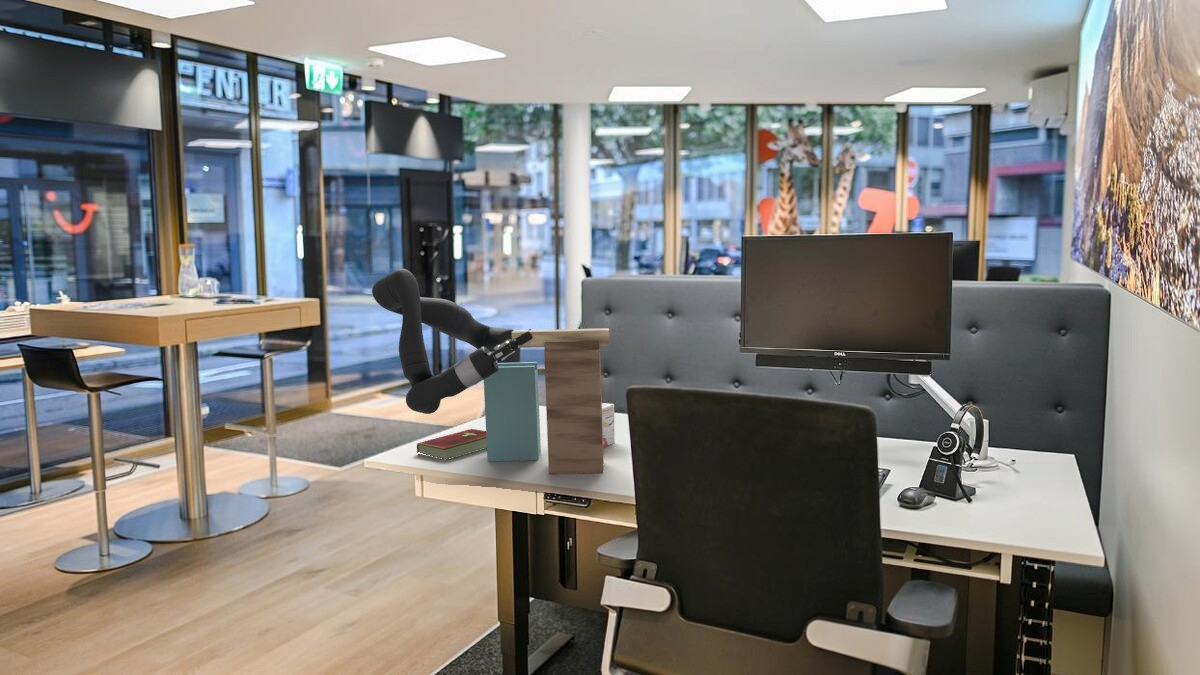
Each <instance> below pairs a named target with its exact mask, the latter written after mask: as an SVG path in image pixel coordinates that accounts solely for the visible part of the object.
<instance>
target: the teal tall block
mask: <svg viewBox="0 0 1200 675" xmlns="http://www.w3.org/2000/svg"><path fill="white" fill-rule="evenodd" d="M496 363H497V362H496ZM497 364H498V368H499V369H498V371H497V372H495V373H494V374H492V375H490V376H489V377H487V378H485V379H484V380H483V395H484V398H483V399H484V415H485V416H484V417H485V431H486V441H487V448H486V455H487V456H486V457H487V458H486V459H487V462H513V461H517V462H518V461H519V462H520V461H539V460H538V459H540V457H539V456H541V454H540V453H542V450H541V447H542V446H541V421H540V420H541V419H540V402H539V401H540V400H539V399H540V397H539V396H540V394H539V375H538V372H539V371H538V370H539V369H538V361H530V362H529V361H528V362H526V361H525V362H524V361H522V362H521V361H520V363H497Z"/></svg>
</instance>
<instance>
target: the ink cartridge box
mask: <svg viewBox="0 0 1200 675" xmlns="http://www.w3.org/2000/svg"><path fill="white" fill-rule="evenodd" d="M602 425H603V449H604V448H606V447H608V446H610V444H611V445H614V444H615V439H616V438H615V434H616V433H615V432H616V431H615V430H616V429H615V404H614V403H605V402H602Z"/></svg>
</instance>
